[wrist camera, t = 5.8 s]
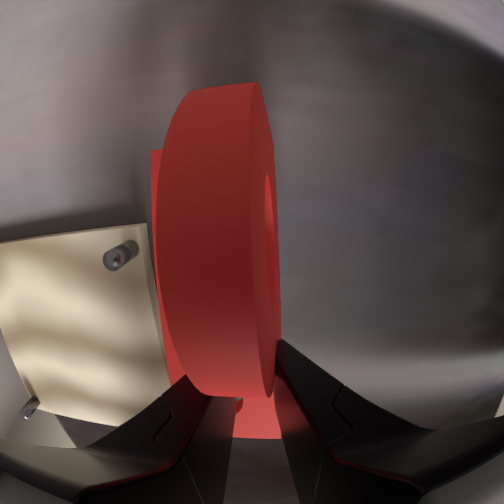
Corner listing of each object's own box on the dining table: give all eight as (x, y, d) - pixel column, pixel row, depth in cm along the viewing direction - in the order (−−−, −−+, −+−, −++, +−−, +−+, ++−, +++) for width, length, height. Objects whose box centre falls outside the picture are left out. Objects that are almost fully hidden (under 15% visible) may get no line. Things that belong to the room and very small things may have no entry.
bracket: (162, 156, 11) (14, 88, 4) (273, 145, 11) (239, 6, 3) (187, 417, 12) (117, 540, 5) (282, 423, 12) (266, 572, 4)
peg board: (187, 421, 23) (179, 457, 19) (42, 400, 23) (24, 424, 19) (146, 222, 19) (120, 234, 15) (-11, 243, 19) (-43, 255, 15)
